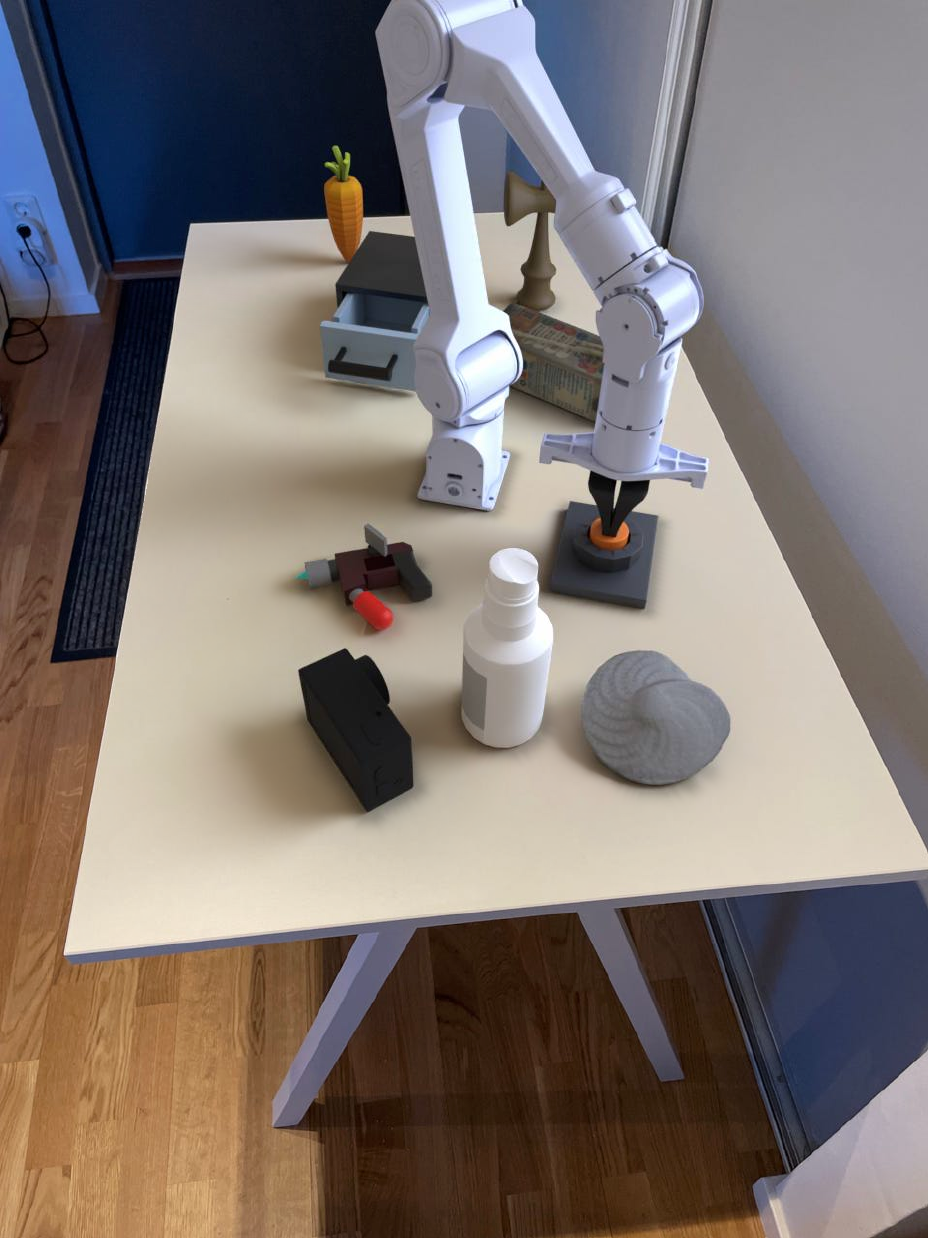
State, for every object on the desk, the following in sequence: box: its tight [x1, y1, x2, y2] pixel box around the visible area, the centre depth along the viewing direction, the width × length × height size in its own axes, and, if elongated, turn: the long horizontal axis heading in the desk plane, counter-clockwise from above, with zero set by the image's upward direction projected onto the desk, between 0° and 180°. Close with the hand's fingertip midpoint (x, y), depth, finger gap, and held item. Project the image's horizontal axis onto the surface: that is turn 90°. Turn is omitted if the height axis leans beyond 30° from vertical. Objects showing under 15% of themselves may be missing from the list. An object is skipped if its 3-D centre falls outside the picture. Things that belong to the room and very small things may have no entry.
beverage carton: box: [502, 302, 605, 423], centre depth 106 cm, size 8×19×7 cm, turn 55°
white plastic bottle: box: [461, 547, 554, 749], centre depth 70 cm, size 7×7×18 cm
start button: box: [589, 518, 629, 550], centre depth 88 cm, size 4×4×2 cm
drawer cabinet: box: [334, 230, 428, 309], centre depth 113 cm, size 14×13×9 cm
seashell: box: [580, 649, 732, 786], centre depth 74 cm, size 12×6×10 cm
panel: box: [549, 500, 659, 610], centre depth 89 cm, size 12×9×3 cm
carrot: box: [323, 145, 364, 264], centre depth 122 cm, size 5×5×15 cm
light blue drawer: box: [319, 292, 430, 392], centre depth 107 cm, size 17×11×7 cm
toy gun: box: [295, 523, 433, 631], centre depth 84 cm, size 10×12×5 cm
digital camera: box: [297, 647, 415, 813], centre depth 72 cm, size 10×5×7 cm, turn 33°
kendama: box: [503, 170, 557, 311], centre depth 114 cm, size 6×10×20 cm, turn 91°
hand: (610, 529), depth 87 cm, fingers closed, pressing on start button
